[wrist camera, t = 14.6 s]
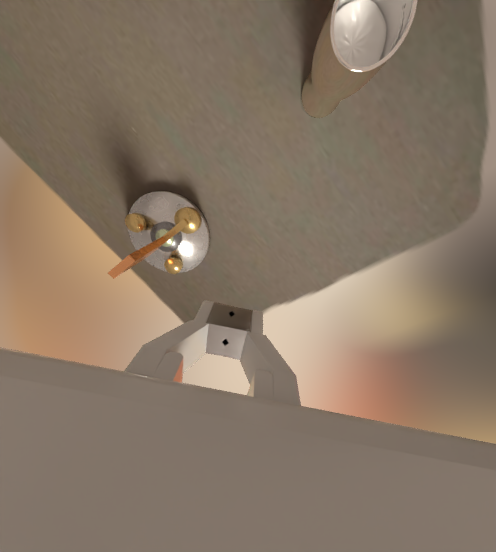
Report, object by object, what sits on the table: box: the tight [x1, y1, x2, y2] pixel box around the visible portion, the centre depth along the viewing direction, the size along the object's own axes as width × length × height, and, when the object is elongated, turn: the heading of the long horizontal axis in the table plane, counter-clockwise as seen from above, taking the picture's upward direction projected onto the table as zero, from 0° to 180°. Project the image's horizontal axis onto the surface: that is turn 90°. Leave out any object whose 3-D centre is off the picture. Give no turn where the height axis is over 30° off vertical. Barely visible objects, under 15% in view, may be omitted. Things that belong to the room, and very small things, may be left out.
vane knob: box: [108, 207, 202, 278], centre depth 33 cm, size 14×5×12 cm, turn 125°
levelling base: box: [125, 191, 210, 274], centre depth 39 cm, size 17×17×3 cm
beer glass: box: [302, 0, 417, 118], centre depth 22 cm, size 7×7×15 cm
